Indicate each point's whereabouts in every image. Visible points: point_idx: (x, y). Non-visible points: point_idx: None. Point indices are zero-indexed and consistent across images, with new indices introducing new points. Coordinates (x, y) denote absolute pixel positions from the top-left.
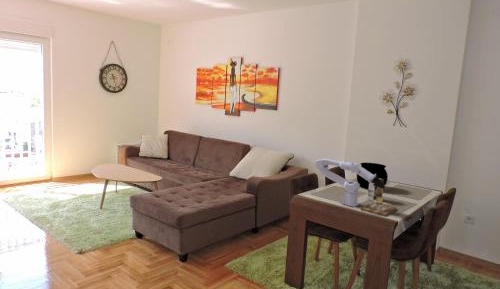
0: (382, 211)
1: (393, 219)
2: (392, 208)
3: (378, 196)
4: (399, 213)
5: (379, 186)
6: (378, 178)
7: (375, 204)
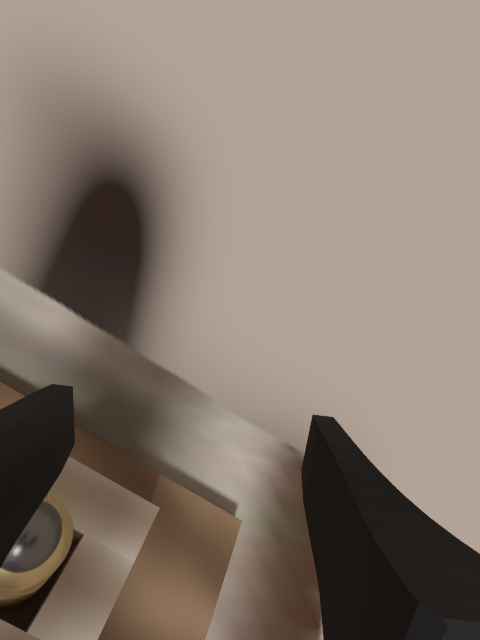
0: (161, 535)
1: (265, 459)
2: (7, 404)
3: (31, 569)
4: (86, 372)
5: (19, 522)
6: (465, 546)
7: (93, 627)
